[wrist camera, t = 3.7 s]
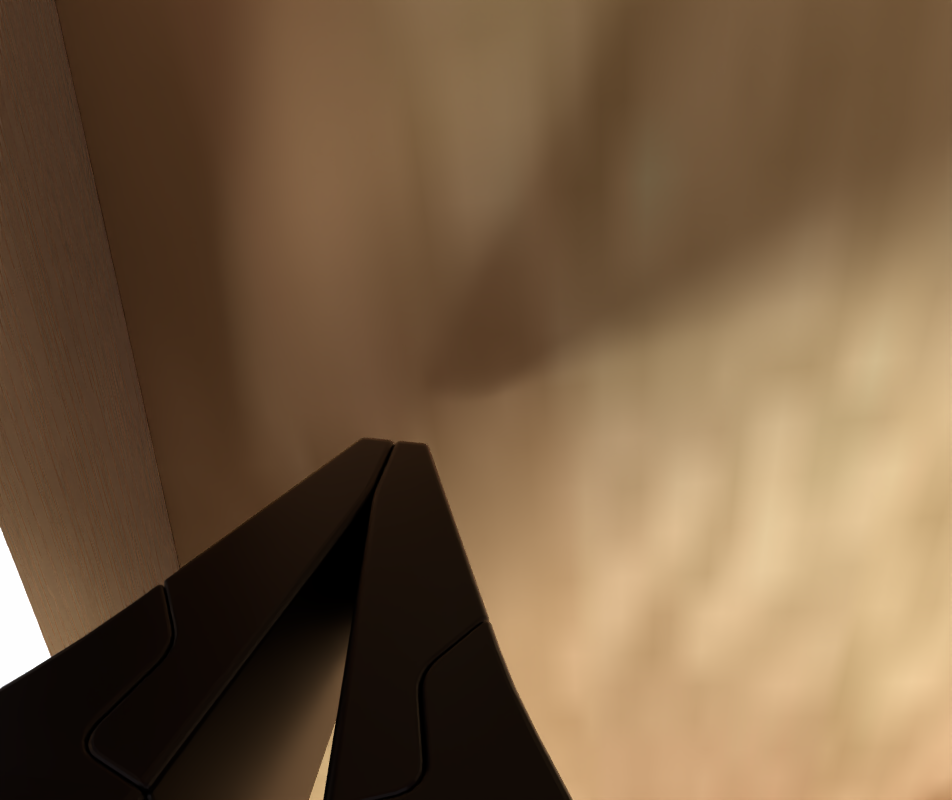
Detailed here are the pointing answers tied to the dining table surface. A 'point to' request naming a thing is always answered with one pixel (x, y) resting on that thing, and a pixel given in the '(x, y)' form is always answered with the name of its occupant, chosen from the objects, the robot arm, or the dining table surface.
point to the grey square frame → (63, 374)
